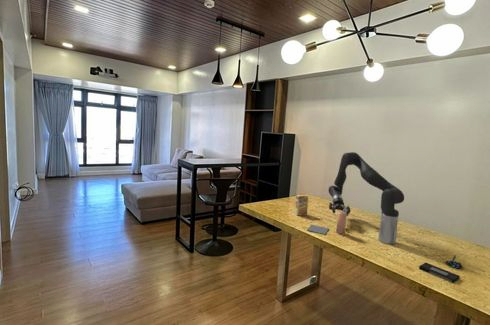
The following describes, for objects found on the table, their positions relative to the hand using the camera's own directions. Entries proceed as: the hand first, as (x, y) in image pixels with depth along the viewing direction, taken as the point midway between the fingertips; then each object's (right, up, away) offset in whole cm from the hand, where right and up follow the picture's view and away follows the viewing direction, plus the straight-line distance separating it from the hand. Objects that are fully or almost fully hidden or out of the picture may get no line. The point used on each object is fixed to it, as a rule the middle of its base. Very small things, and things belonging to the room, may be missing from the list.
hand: (340, 213), depth 183 cm
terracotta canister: (-3, -11, -8) cm, 14 cm away
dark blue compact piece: (+43, -19, -45) cm, 65 cm away
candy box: (-22, -6, +27) cm, 35 cm away
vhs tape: (+28, -19, -54) cm, 64 cm away
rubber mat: (-17, -10, -4) cm, 20 cm away
